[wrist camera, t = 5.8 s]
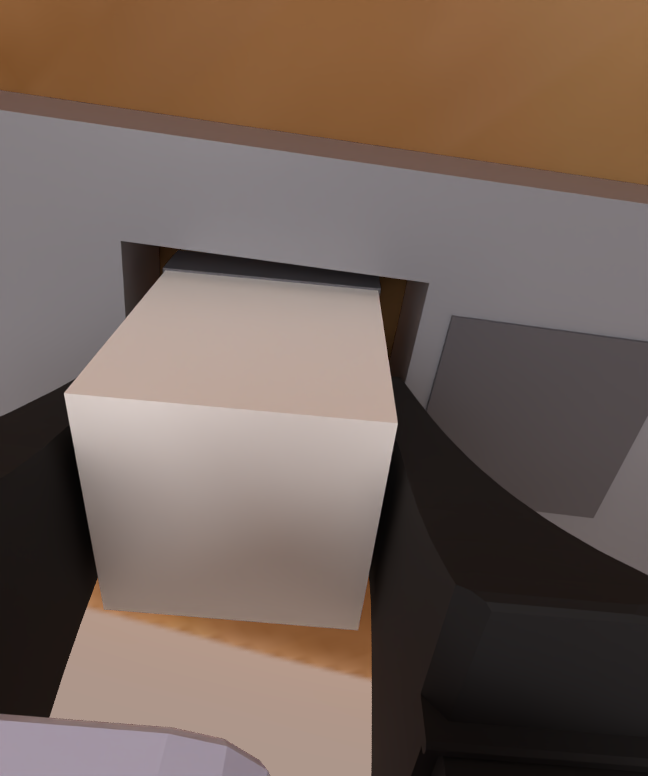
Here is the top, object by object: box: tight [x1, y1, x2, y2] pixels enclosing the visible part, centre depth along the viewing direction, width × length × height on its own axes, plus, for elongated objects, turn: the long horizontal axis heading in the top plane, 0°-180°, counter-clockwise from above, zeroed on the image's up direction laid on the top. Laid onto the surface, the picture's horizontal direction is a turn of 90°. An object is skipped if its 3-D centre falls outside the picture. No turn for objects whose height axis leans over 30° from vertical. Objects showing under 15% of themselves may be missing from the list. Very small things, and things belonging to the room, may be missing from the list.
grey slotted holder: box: [0, 90, 648, 575], centre depth 13 cm, size 20×10×4 cm, turn 83°
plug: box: [64, 250, 398, 630], centre depth 11 cm, size 4×4×6 cm
